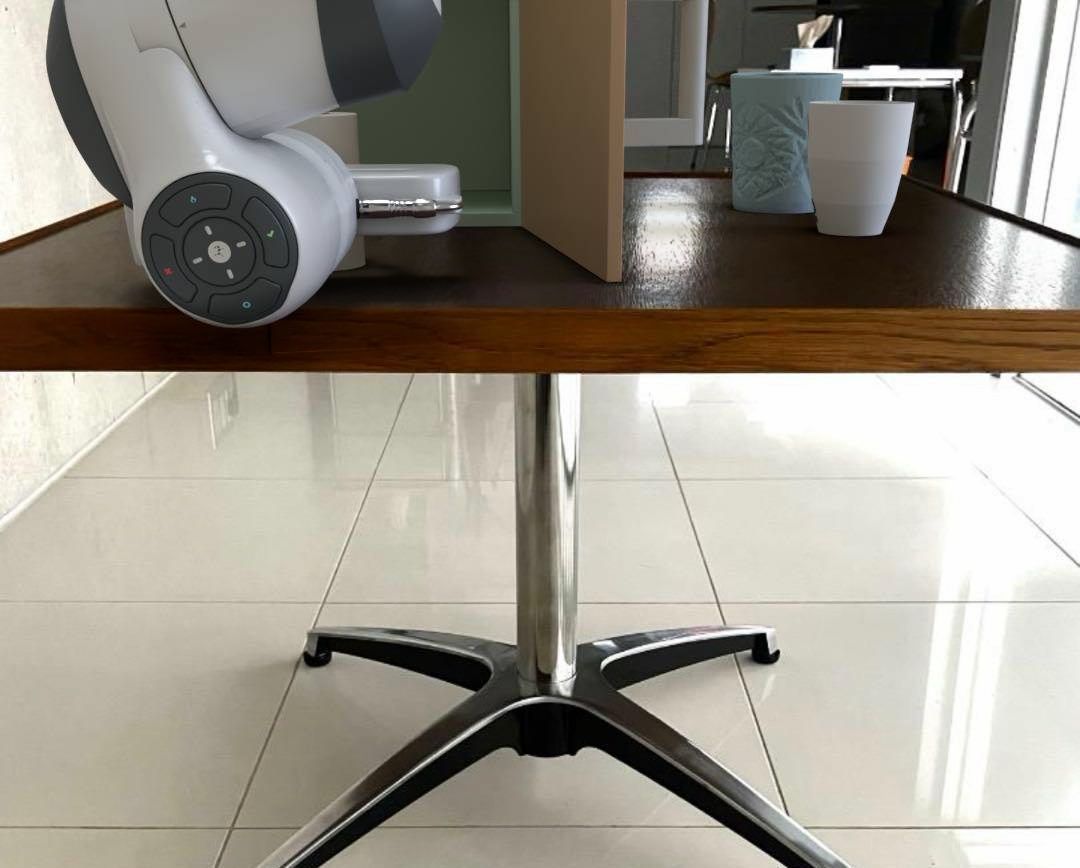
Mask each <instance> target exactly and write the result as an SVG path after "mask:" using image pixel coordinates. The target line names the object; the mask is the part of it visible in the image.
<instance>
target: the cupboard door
mask: <svg viewBox="0 0 1080 868" xmlns="http://www.w3.org/2000/svg"><path fill="white" fill-rule="evenodd" d="M629 1H630V2H649V1H650V2H681V19H680V20H681V21H680V22H681V23H680V25H681V26H680V52H679V53H680V54H679V81H678V82H679V83H678V107H677V109H678V110H677V117H647V118H646V117H645V118H643V117H642V118H641V117H638V118H626V117H625V115H626V114H625V112H626V67H627V66H626V65H627V64H626V61H627V14H628V13H627V11H628V10H627V9H628V7H627V6H628V2H629ZM709 1H710V0H519V60H520V156H521V226H520V227H521V228H523V229H525V230H526V231H528V232H529V233H530V234H532V235H534V236H535V237H537V238H539V239H540V240H541V241H542V242H545V243H546V244H548V245H549V246H551V247H552V248H553V249H555V250H557V251H558V252H560V253H562V254H563V255H564V256H566V257H567V258H568V259H570V260H572V261H573V262H575V263H576V264H578V265H579V266H581V267H583V268H584V269H586V270H587V271H589V272H590V273H592V274H594V275H595V276H597V277H598V278H599V279H601V280H602V281H604V282H606V283H620V282H622V270H623V267H622V266H623V264H622V263H623V221H624V219H623V217H624V215H623V214H624V169H625V168H624V164H625V160H624V159H625V148H635V147H637V148H638V147H639V148H640V147H644V148H645V147H679V146H680V147H682V146H684V147H687V146H688V147H690V146H702V145H703V144H704V143H703V141H704V121H705V119H704V117H705V98H706V97H705V94H706V74H707V73H706V72H707V71H706V69H707V49H708V48H707V45H708V26H709V25H708V22H709Z"/></svg>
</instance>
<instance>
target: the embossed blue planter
mask: <svg viewBox="0 0 1080 868" xmlns="http://www.w3.org/2000/svg"><path fill="white" fill-rule="evenodd" d="M729 81H730V97H731V98H730V99H731V111H732V116H731V119H732V130H731V131H732V136H731V148H732V152H731V153H732V154H731V163H732V181H731V182H732V183H731V185H732V189H731V191H732V206H733V209H734V210H736V211H741V212H748V213H759V214H806V213H807V214H808V213H814V209H813V204H812V200H811V188H810V176H809V164H808V119H809V102H814V101H840V100H841V99H840V98H841V92H842V87H843V81H844V73H843V72H842V73H841V72H813V71H812V72H811V71H810V72H809V71H807V72H806V71H804V72H803V71H802V72H800V71H792V72H791V71H767V72H766V71H760V72H757V71H756V72H755V71H754V72H737V73H736V72H735V73H732V74H730V80H729Z"/></svg>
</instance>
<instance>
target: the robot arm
mask: <svg viewBox="0 0 1080 868" xmlns="http://www.w3.org/2000/svg"><path fill="white" fill-rule="evenodd" d="M443 24H444V21H443V18H442V16H441V0H53V4H52V7H51V11H50V15H49V24H48V29H47V36H46V37H47V38H46V47H45V48H46V49H45V66H46V73H47V79H48V83H49V86H50V90H51V93H52V96H53V99H54V101H55V104H56V106H57V109H58V112H59V114H60V116H61V119H62V121H63V124H64V126H65V128H66V130H67V132H68V135H69V136H70V138H71V140H72V142H73V144H74V145H75V148H76V149H77V151H78V152H79V154H80V156H81V158H82V159H83V161H84V163H85V165H86V166H87V167H88V169H89V170H90V172H91V174H92V176H93V177H95V179H96V180H97V182H98V183H99V184H100V185H101V187H103V189H104V190H106V192H108V193H109V194H110V195H112V196H113V197H114V198H115V199H116V200H117V201H119V202H120V203H122V204H123V210H124V217H125V224H126V230H127V234H128V235H127V236H128V239H129V244H130V248H131V252H132V256H133V260H134V263H135V265H136V266H139V267H141V268H143V269H144V271H145V273H146V275H147V278H148V279H149V280H150V282H151V284H152V285H153V286H154V287H155V289H156V290H157V291H158V293H159V294H160V295H161V296H162V297H163V298H164V299H165V300H166V301H168V302H169V303H170V304H171V305H172V306H174V307H175V308H176V309H178V310H179V311H180V312H182V313H184V314H185V315H187V316H189V317H191V318H193V319H194V320H197V321H200V322H201V323H204V324H206V325H207V324H208V325H210V326H212V327H219V328H225V329H227V328H228V329H249V328H250V329H251V328H257V327H262V326H265V325H270V324H271V323H275V322H276V321H279V320H281V319H283V318H285V317H287V316H289V315H290V314H292V313H293V312H295V311H296V310H298V309H299V308H300V307H301V306H303V305H304V304H305V303H306V302H307V301H309V299H311V298H312V297H313V296H314V295H316V293H317V292H318V291H319V290H320V288H321V287H322V286H323V285H324V283H326V281H327V279H328V278H329V276H330V275H331V274H332V273H333V272H335V271H334V269H335V268H336V267H337V266H338V264H339V263H340V262H341V260H342V259H343V258H344V257H345V255H346V254H347V252H348V251H349V249H350V247H351V245H352V243H353V241H354V239H355V236H364V237H414V236H425V235H427V236H428V235H436V234H442V233H445V232H448V231H449V230H452V229H454V226H456V225H457V224H458V223H459V221H460V218H461V211H462V207H463V205H464V202H463V200H462V197H461V189H460V172H459V169H458V168H457V167H456V166H453V165H447V164H344V162H343V161H342V159H341V158H340V157H339V156H338V155H337V154H336V153H335V152H334V151H333V150H332V149H331V148H330V147H329V146H328V145H326V144H325V143H324V142H322V141H321V140H319V139H318V138H316V137H314V136H312V135H310V134H308V133H305V132H303V131H299V130H296V129H291V128H286V127H288V126H291V125H293V124H296V123H299V122H301V121H304V120H307V119H309V118H312V117H315V116H317V115H320V114H323V113H325V112H328V111H330V110H333V109H336V108H338V107H340V108H342V109H345V108H349V107H353V106H357V105H360V104H364V103H368V102H371V101H375V100H379V99H382V98H386V97H390V96H393V95H397V94H401V93H405V92H407V91H408V90H409V88H410V87H411V86H412V85H413V83H414V82H415V80H416V79H417V77H418V76H419V74H420V73H421V71H422V70H423V68H424V66H425V65H426V63H427V61H428V59H429V57H430V55H431V53H432V51H433V49H434V47H435V45H436V42H437V40H438V38H439V35H440V32H441V30H442V27H443Z"/></svg>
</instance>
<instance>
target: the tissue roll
mask: <svg viewBox="0 0 1080 868" xmlns="http://www.w3.org/2000/svg"><path fill="white" fill-rule="evenodd" d="M286 128H291V129H296V130H299V131H303V132H305V133H308V134H310V135H312V136H314V137H316V138H318V139H319V140H321V141H322V142H324V143H325V144H326V145H328V146H329V147H330V148H331V149H332V150H333V151H334V152H335V153H336V154H337V155H338V156H339V157H340V158H341V159H342V161H343V162H344V164H360V160H359V143H358V125H357V114H356V113H349V112H325V113H323V114H320V115H317V116H315V117H312V118H309V119H307V120H304V121H301V122H299V123H296V124H293V125H291V126H288V127H286ZM365 251H366V250H365V236H355V239H354V241H353V243H352V245H351V247H350V249H349V251H348V252H347V254H346V255H345V257H344V258H343V259H342V260H341V262H340V263H339V264H338V266H337V267H336V268H335V269H334V271H333V272H335V271H336V272H339V271H348V270H352V269H358V268H362V267H363V266H365V265H366V252H365Z"/></svg>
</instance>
